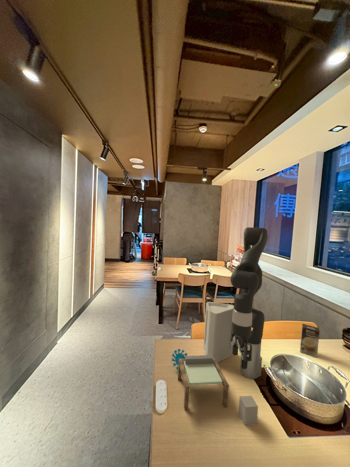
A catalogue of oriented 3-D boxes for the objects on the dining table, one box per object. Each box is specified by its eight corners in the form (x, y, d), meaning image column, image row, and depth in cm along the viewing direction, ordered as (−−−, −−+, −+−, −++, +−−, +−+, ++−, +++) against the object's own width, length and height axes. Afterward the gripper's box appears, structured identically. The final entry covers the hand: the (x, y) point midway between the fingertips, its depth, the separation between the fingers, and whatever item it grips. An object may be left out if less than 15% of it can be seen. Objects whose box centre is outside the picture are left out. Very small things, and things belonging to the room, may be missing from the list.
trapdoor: (183, 363, 100) (183, 355, 100) (211, 362, 102) (212, 355, 102) (189, 385, 86) (190, 376, 86) (222, 383, 88) (222, 375, 88)
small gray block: (250, 412, 84) (251, 395, 84) (256, 424, 79) (257, 406, 79) (238, 413, 84) (239, 396, 84) (244, 425, 79) (245, 407, 79)
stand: (177, 377, 102) (178, 358, 101) (213, 376, 104) (214, 357, 104) (184, 410, 84) (185, 387, 83) (227, 407, 86) (228, 384, 86)
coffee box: (299, 352, 130) (301, 326, 129) (299, 347, 135) (301, 323, 135) (317, 358, 125) (319, 331, 124) (317, 352, 130) (319, 327, 130)
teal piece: (173, 370, 104) (171, 348, 111) (169, 373, 108) (167, 351, 115) (193, 369, 108) (189, 348, 115) (188, 371, 112) (185, 351, 119)
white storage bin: (215, 342, 136) (217, 299, 135) (234, 353, 125) (237, 307, 124) (193, 351, 124) (196, 305, 123) (213, 365, 113) (216, 314, 112)
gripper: (260, 330, 76) (257, 373, 77) (243, 313, 90) (240, 350, 91) (240, 330, 75) (237, 374, 76) (226, 313, 90) (223, 350, 90)
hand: (239, 361), depth 83 cm, fingers open, 8 cm apart
